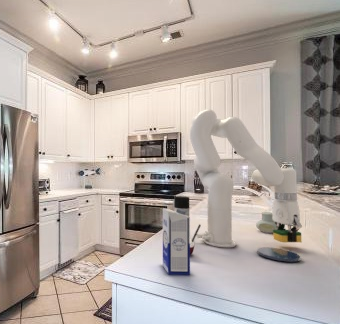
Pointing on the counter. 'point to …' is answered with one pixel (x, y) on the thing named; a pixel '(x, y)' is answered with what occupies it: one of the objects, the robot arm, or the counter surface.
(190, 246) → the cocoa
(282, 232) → the sponge
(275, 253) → the plate
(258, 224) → the air freshener
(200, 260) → the counter surface
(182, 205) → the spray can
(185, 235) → the milk carton
